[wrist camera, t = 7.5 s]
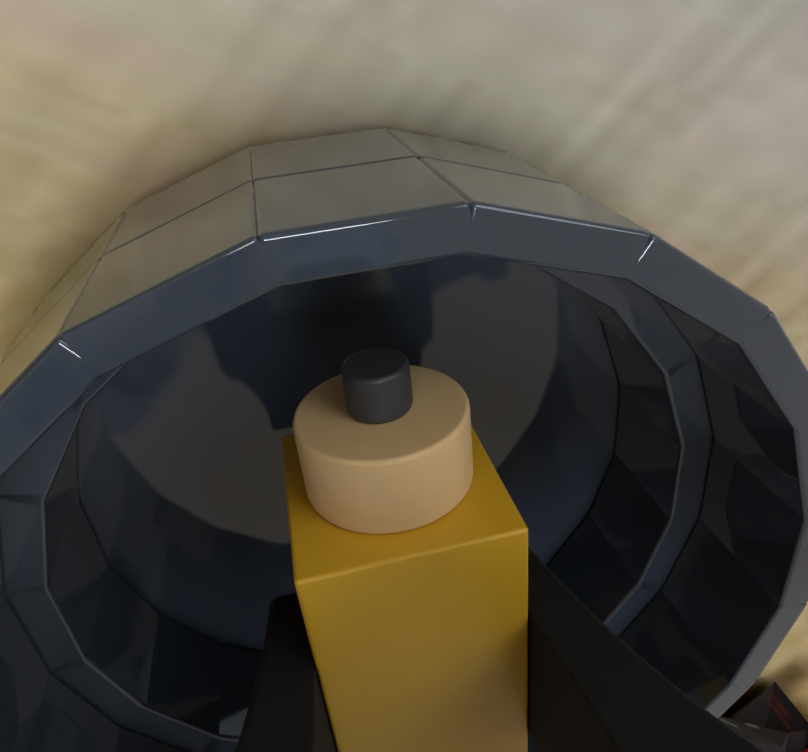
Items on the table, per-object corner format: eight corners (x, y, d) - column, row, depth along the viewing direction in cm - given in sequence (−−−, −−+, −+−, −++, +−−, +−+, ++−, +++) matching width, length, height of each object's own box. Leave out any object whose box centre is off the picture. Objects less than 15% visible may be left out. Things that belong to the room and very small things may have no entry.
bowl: (138, 720, 18) (101, 980, 13) (-131, 191, 10) (-433, 343, 6) (628, 596, 20) (751, 783, 15) (689, 78, 12) (962, 124, 8)
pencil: (478, 680, 15) (532, 833, 12) (343, 715, 14) (366, 883, 12) (455, 294, 10) (536, 404, 7) (252, 330, 10) (256, 461, 7)
